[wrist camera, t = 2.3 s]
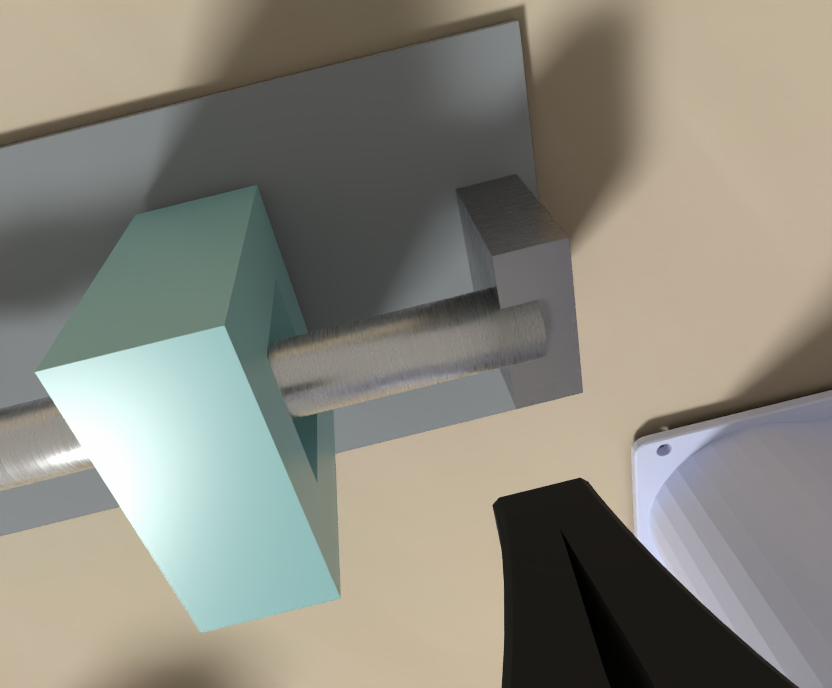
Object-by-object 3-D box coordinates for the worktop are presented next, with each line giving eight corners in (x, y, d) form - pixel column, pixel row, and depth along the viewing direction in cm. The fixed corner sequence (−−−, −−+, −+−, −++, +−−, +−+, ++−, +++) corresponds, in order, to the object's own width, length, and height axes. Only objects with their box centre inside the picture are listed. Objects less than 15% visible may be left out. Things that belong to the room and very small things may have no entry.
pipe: (513, 170, 17) (578, 247, 13) (530, 302, 19) (591, 406, 15) (-223, 351, 17) (-400, 488, 13) (-125, 463, 19) (-249, 613, 15)
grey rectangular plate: (515, 19, 15) (518, 20, 15) (557, 392, 21) (560, 398, 21) (-353, 233, 15) (-364, 238, 15) (-71, 547, 21) (-75, 554, 21)
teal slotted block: (256, 184, 16) (224, 325, 10) (333, 403, 20) (340, 598, 14) (135, 214, 16) (34, 372, 10) (234, 428, 20) (200, 632, 14)
